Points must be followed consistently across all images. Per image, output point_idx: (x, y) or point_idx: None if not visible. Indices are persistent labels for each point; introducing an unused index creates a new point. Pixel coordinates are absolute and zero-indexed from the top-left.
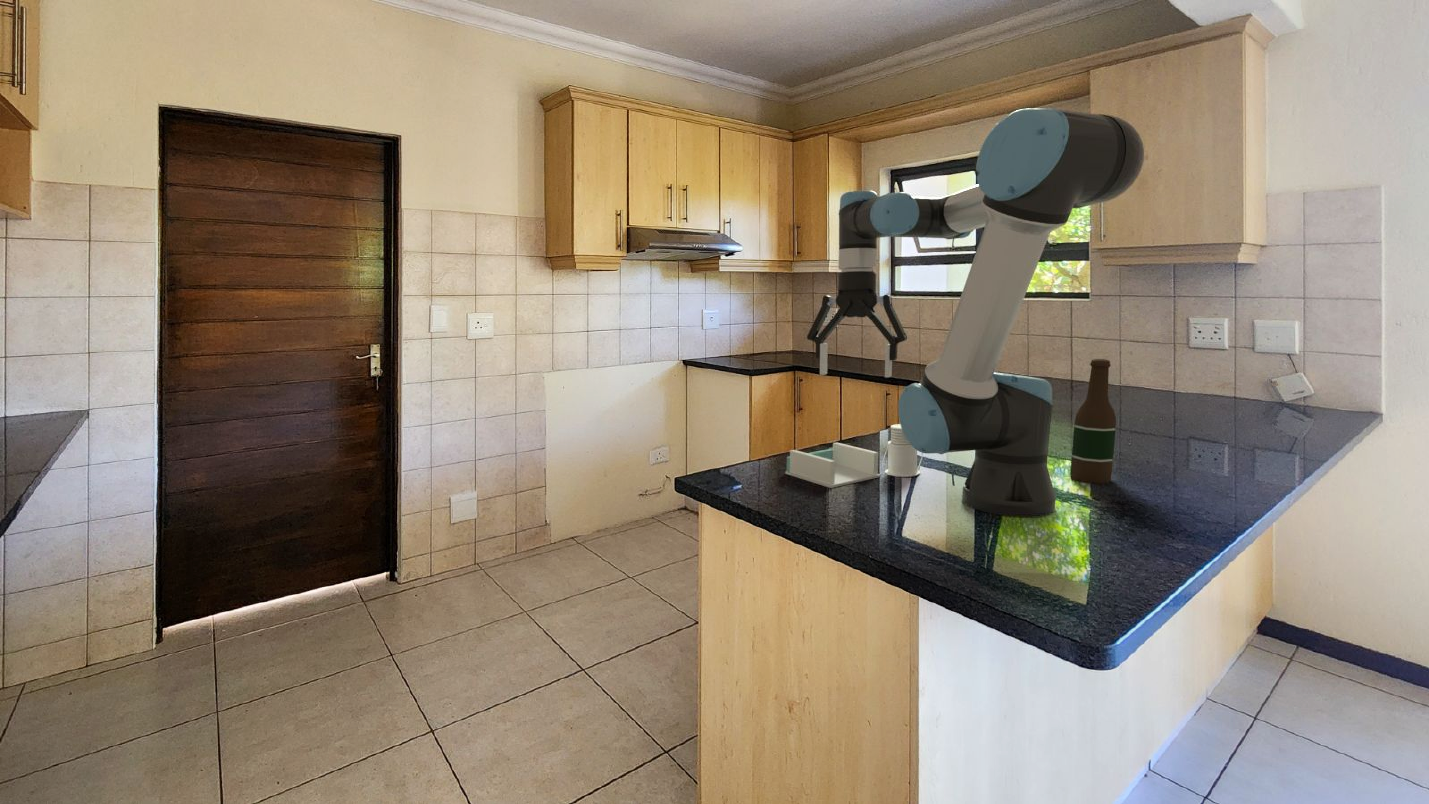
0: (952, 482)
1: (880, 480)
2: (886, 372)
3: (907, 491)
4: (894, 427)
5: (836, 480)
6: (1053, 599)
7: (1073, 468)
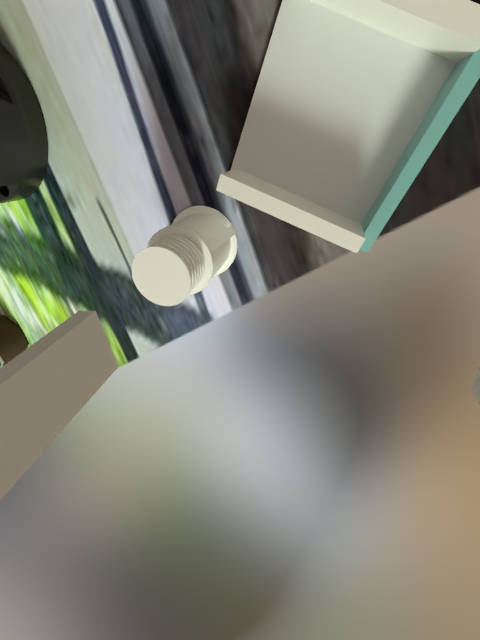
0: (109, 222)
1: (216, 152)
2: (69, 323)
3: (134, 89)
4: (171, 255)
5: (298, 40)
6: None
7: (3, 332)
